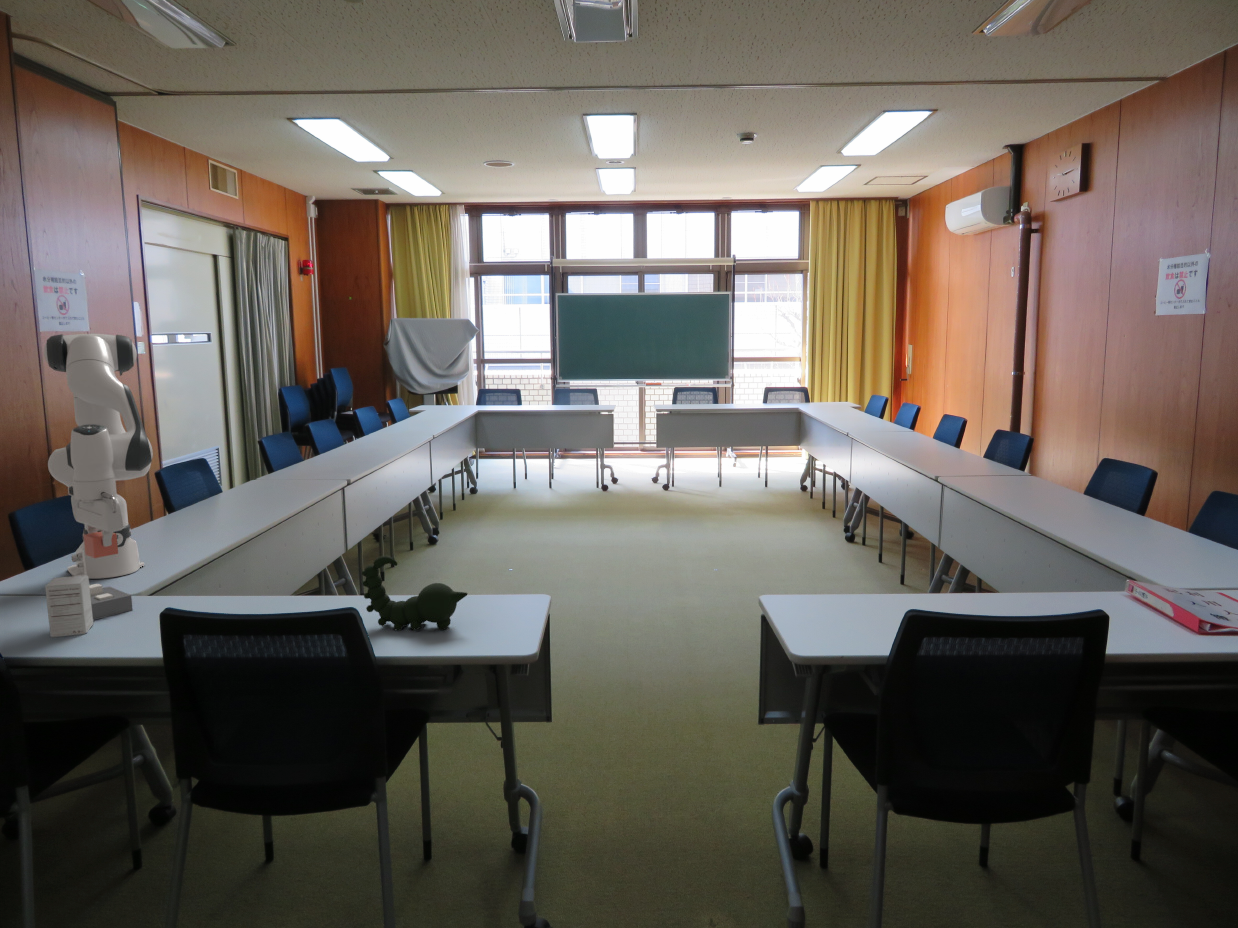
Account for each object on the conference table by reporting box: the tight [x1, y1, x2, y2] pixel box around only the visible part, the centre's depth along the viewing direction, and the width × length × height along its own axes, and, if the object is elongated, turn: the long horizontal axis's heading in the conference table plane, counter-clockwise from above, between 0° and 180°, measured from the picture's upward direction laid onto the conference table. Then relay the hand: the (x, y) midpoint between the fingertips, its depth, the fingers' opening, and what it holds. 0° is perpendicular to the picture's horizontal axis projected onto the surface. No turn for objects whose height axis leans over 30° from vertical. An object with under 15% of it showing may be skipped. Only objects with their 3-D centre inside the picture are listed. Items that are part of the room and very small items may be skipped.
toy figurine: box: [361, 555, 468, 632], centre depth 192 cm, size 9×19×25 cm
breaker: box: [89, 583, 104, 596], centre depth 207 cm, size 3×3×4 cm
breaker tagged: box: [95, 593, 113, 601], centre depth 204 cm, size 3×3×4 cm
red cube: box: [83, 532, 118, 558], centre depth 202 cm, size 5×5×5 cm
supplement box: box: [44, 575, 94, 638], centre depth 190 cm, size 7×7×13 cm
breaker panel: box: [90, 586, 134, 621], centre depth 206 cm, size 13×10×4 cm
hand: (100, 543), depth 202 cm, fingers closed on red cube, 5 cm apart
